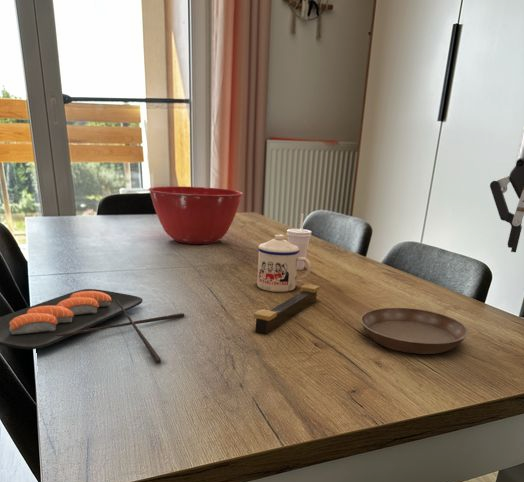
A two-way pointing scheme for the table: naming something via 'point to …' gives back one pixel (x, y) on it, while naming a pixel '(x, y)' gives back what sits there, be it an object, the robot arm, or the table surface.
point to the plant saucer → (413, 330)
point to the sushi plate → (70, 318)
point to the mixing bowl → (195, 212)
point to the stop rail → (285, 309)
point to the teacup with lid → (279, 265)
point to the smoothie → (300, 241)
